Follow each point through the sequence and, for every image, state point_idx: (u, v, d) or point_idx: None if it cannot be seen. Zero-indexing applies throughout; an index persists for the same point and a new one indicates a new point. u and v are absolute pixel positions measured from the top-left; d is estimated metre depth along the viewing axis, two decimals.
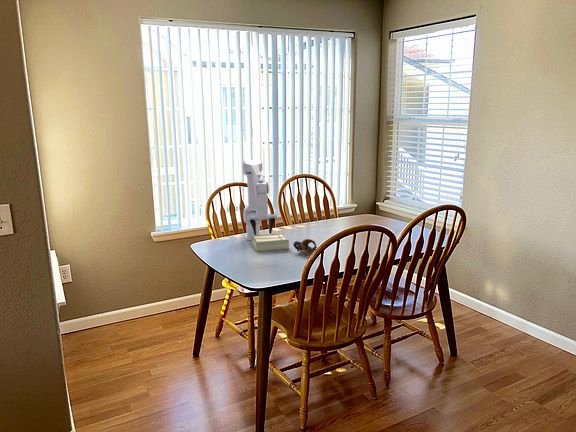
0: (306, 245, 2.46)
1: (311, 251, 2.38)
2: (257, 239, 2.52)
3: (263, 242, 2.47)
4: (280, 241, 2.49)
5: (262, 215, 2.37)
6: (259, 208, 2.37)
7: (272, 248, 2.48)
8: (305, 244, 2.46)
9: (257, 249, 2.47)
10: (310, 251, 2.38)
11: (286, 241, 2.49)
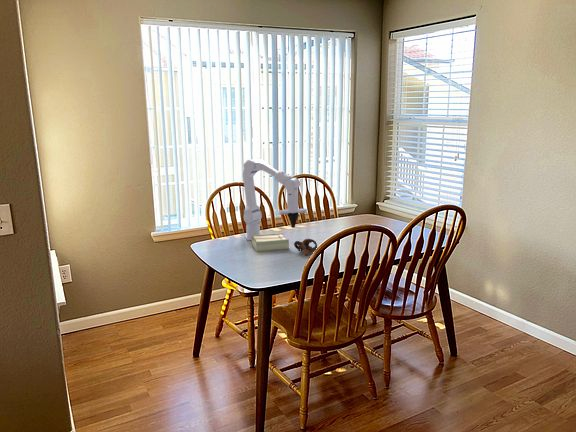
0: (307, 245, 2.47)
1: (312, 251, 2.39)
2: (257, 239, 2.52)
3: (263, 242, 2.47)
4: (280, 241, 2.49)
5: (293, 209, 2.50)
6: (290, 203, 2.50)
7: (272, 248, 2.48)
8: (306, 244, 2.47)
9: (257, 249, 2.47)
10: (311, 251, 2.39)
11: (286, 241, 2.49)
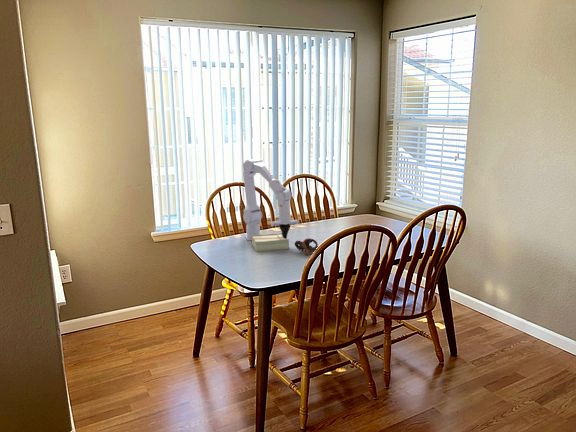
0: (307, 244, 2.48)
1: (312, 250, 2.40)
2: (256, 239, 2.51)
3: (263, 242, 2.47)
4: (280, 241, 2.49)
5: (285, 221, 2.51)
6: (282, 214, 2.50)
7: (272, 248, 2.48)
8: (306, 243, 2.47)
9: (257, 249, 2.47)
10: (311, 250, 2.39)
11: (286, 241, 2.49)
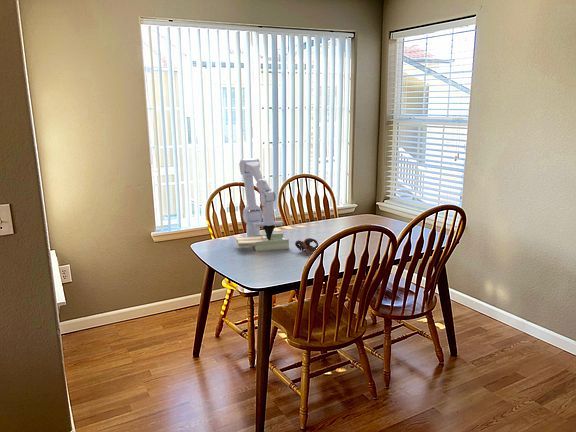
0: (308, 244, 2.48)
1: (313, 250, 2.40)
2: (239, 241, 2.49)
3: (263, 242, 2.47)
4: (280, 241, 2.49)
5: (268, 222, 2.49)
6: (265, 215, 2.48)
7: (272, 248, 2.48)
8: (307, 243, 2.47)
9: (257, 249, 2.47)
10: (312, 250, 2.40)
11: (286, 241, 2.49)
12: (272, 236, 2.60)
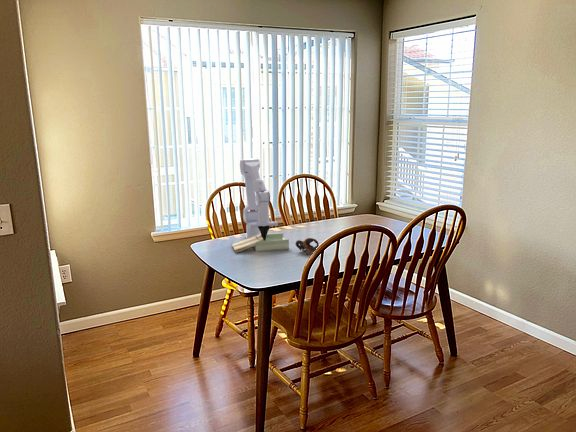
0: (308, 244, 2.48)
1: (314, 250, 2.40)
2: (235, 246, 2.50)
3: (263, 242, 2.47)
4: (280, 241, 2.49)
5: (263, 222, 2.48)
6: (260, 215, 2.48)
7: (272, 248, 2.48)
8: (307, 243, 2.48)
9: (257, 249, 2.47)
10: (313, 250, 2.40)
11: (286, 241, 2.49)
12: (272, 236, 2.60)
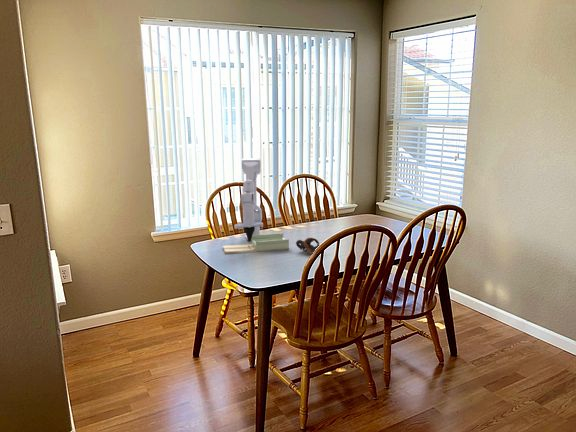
0: (308, 244, 2.49)
1: (314, 249, 2.41)
2: (226, 249, 2.49)
3: (263, 242, 2.47)
4: (280, 241, 2.49)
5: (248, 223, 2.46)
6: (246, 217, 2.46)
7: (272, 248, 2.48)
8: (307, 243, 2.48)
9: (257, 249, 2.47)
10: (313, 249, 2.41)
11: (286, 241, 2.49)
12: (272, 236, 2.60)
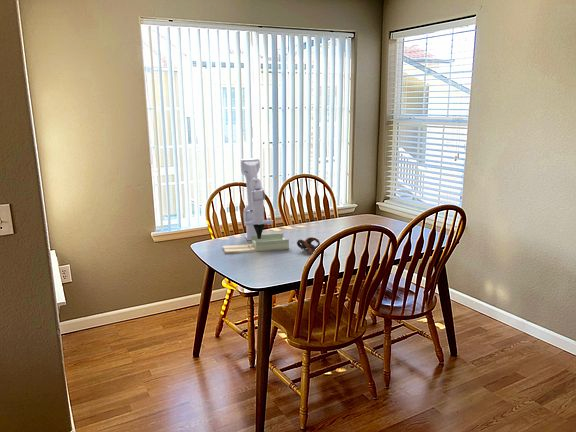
0: (309, 243, 2.49)
1: None
2: (226, 249, 2.49)
3: (263, 242, 2.47)
4: (280, 241, 2.49)
5: (258, 221, 2.47)
6: (255, 214, 2.47)
7: (272, 248, 2.48)
8: (308, 242, 2.49)
9: (257, 249, 2.47)
10: (314, 249, 2.41)
11: (286, 241, 2.49)
12: (272, 236, 2.60)
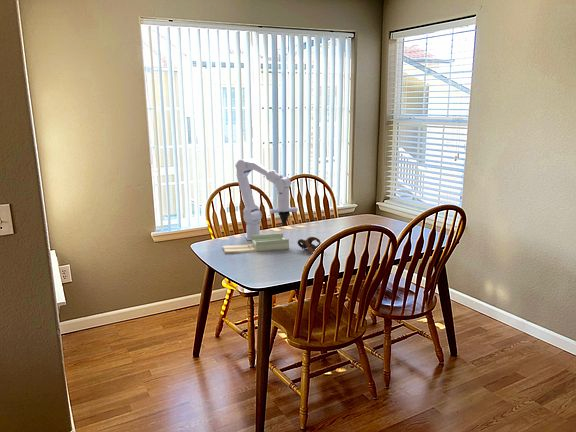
0: (310, 243, 2.50)
1: None
2: (226, 249, 2.48)
3: (263, 242, 2.47)
4: (280, 241, 2.49)
5: (284, 208, 2.53)
6: (281, 201, 2.52)
7: (272, 248, 2.48)
8: (309, 242, 2.50)
9: (257, 249, 2.47)
10: (315, 248, 2.42)
11: (286, 241, 2.49)
12: (272, 236, 2.60)
